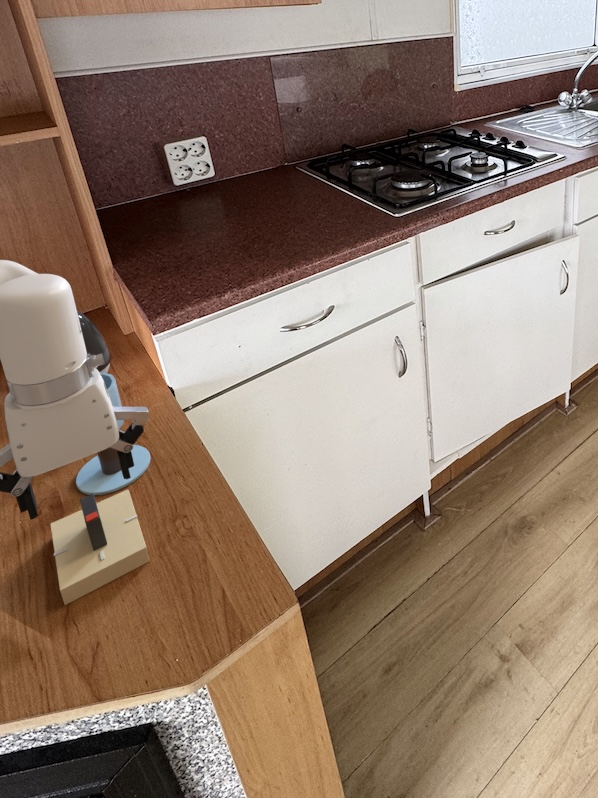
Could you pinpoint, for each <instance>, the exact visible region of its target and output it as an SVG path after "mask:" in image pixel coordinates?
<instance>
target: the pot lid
mask: <svg viewBox="0 0 598 798" xmlns="http://www.w3.org/2000/svg"><path fill="white" fill-rule="evenodd" d="M131 453H132V457H133V462H134V466H133V467H131V468H129V472H130V477H131V478H129V479H127V480H126V479H124V477H123V474H122V471H121V468H120V464H119V459H118V455H117V451H116V449H113V448H110V447H109V448H107V449H105V450H102V451H100V452H97V453H96V456H94V457H93V458H91V459H90V460H89V461H88V462H86V463H85V464H84V465H83V466H82V468H81V469H80V470H79V471H78V473H77V475H76V479H75V484H76V488H77V489H78V491H80V493H82V494H84V495H87V496H89V495H91V494H94V496H102V495H107V494H108V495H109V494H112V493H114V492H117V491H120V490H121V489H124V488H126V487H128V486H129V485H131V484H133V483H134V482H135V481H137V480H138V479H139V478H141V476H142V475H143V474H144V473H146V471H147V469H148V468H149V466H150V463H151V453H150V451H149V449H147V448H146V447H144V446H143V445H142V446H141V445H138V444H134V445H133V449H132V450H131Z"/></svg>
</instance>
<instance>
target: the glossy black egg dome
mask: <svg viewBox="0 0 598 798" xmlns="http://www.w3.org/2000/svg"><path fill="white" fill-rule="evenodd" d="M77 314H78V318H79V322H80V326H81V330H82V335H83V339H84V343H85V347H86V352H87V354H89V353H90V356H91V355H98V354H102V355H103V359H104V364H102V365H99V366H97V368H96V369H97V370H98V371H99V373H108V372H109V370H110V367H111V366H110V365H111V362H112V354H111V350H110V348H109V346H108V343H107V342H106V340H105V338H104V336H103V334H102V333H101V331H100V330H99V329H98V327H97V326H96V325H95V323H94V322H93V321H92V320H91V319H90V318H89V317H88V316H87V315H85V314H84V313H82V312H81V311H79V310H77Z"/></svg>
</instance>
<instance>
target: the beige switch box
mask: <svg viewBox="0 0 598 798" xmlns="http://www.w3.org/2000/svg"><path fill="white" fill-rule="evenodd" d="M130 493H131V492H130V489H125V490H124V491H121V492H118V493H115V494H114V495H112V496H110V497H107V498H106V499H103V500H101V501H98V502H96V504H97V508H98V511H99V515H100V519H101V522H102V526H103V530H104V533H105V537H106V541H107V545H105V546H103V547H101V548H99V549H97V550H95V551H93V547H92V544H91V541H90V537H89V534H88V530H87V527H86V523H85V519H84V515H83V511H82V509H80V510H78V511H76V512H73V513H71V514H68V515H67V516H65V517H63V518H60V519H58V520H55V521H52V522H51V523H50V530H51V531H50V532H51V539H52V544H53V551H54V553H53V557H54V560H55V566H56V573H57V579H58V586H59V592H60V595H61V597H62V600H63V605H64V606H66V605H68V604H70V603H72V602H74V601H76V600H78V599H80V598H81V597H83V596H85V595H88V594H89V593H91V592H93V591H95V590H97V589H99V588H101V587H103V586H105V585H107V584H109V583H111V582H113V581H114V580H117V579H118V578H120V577H123V576H124V575H126V574H128V573H130V572H132V571H134V570H135V569H137V568H139V567H141V566H143V565H145V564H147V563H149V562H150V561H151V559H150V556H149V552H148V548H147V545H146V541H145V538H144V535H143V532H142V529H141V525H140V522H139V519H138V517H139V516H138V514H137V512H136V509H135V506H134V503H133V500H132V496H131V494H130Z"/></svg>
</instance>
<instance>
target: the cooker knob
mask: <svg viewBox="0 0 598 798" xmlns="http://www.w3.org/2000/svg"><path fill="white" fill-rule="evenodd" d="M79 503H80V507H81V510H82V511H83V515H84V519H85V523H86V527H87V530H88V534H89V537H90V541H91V544H92V547H93V551H95V550H97V549H99V548H101V547H103V546H105V545H107V541H106V537H105V533H104V530H103V526H102V522H101V519H100V515H99V511H98V508H97V504H96V503H97V501H96V498H95V495H94V494H91V495H87V496H84V497H82V498H80V499H79Z"/></svg>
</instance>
